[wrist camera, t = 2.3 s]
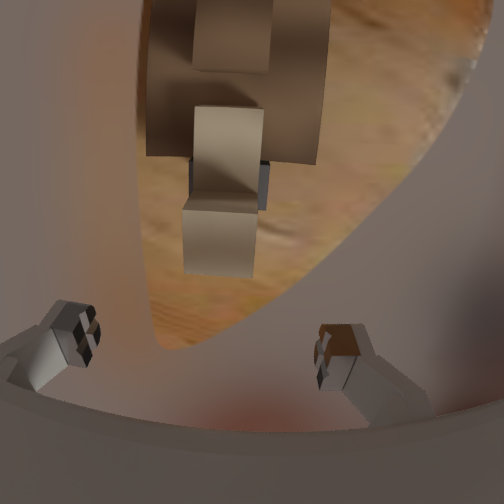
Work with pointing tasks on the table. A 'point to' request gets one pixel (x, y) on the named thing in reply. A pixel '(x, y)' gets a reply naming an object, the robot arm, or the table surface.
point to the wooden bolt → (223, 191)
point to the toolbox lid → (238, 71)
